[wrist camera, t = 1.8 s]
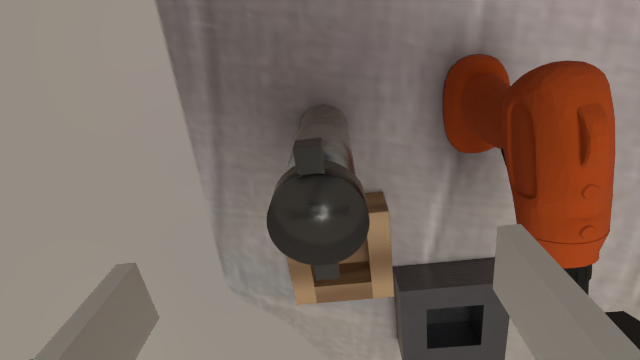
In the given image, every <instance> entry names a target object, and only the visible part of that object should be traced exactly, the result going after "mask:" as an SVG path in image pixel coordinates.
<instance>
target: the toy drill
mask: <svg viewBox="0 0 640 360" xmlns="http://www.w3.org/2000/svg"><path fill="white" fill-rule="evenodd" d="M443 115H444V124H445V130H446V133H447V136H448V139H449V141H450V143H451V144H452V146H454V147H455V149H457V150H458V151H460V152H464V153H479V152H483V151H487V150H489V149H492V148H494V147H497V148H501V152H502V155H503V158H504V161H505V164H506V167H507V171H508V176H509V181H510V185H511V190H512V195H513V201H514V207H515V214H516V220H517V224H521V225H522V226H523V227H524V228H525V229H526V230H527V231H528V232H529V233H530V234H531V235H532V236H533V237H534V238H535V240H536V241H537V242H538V243H539V244H540V245H541V246H542V247H543V248H544V249H545V250H546V251H547V252H548V253H549V254H550V255H551V257H552V258H553V259H554V260H555V261H556V262H557V263H558V264H559V265H560V266H561V267H562V268H563V269H564V270H565V271H566V272H567V274H568V275H569V276H570V277H571V278H572V279H573V280H574V281H575V282H576V283H577V284H578V285H579V286H580V287H581V288H582V289H583V291H584V292H585V293H586V294H587V295H588V289H589V280H590V279H591V276H592V264H593V263H595V262H596V261H598V259H599V251H600V249H601V247H602V245H603V243H604V241H605V239H606V237H607V236H608V234H609V231H610V219H611V206H612V198H613V179H614V164H615V117H614V108H613V103H612V97H611V91H610V85H609V83H608V80H607V78H606V76H605V74H604V73H603V72H602V71H601V70H599V69H598V68H596V67H595V66H593V65H591V64H588V63H586V62H579V61H560V62H552V63H549V64H546V65H542V66H540V67H538V68H535V69H533V70H531V71H529V72H528V73H526V74H524V75H523V76H522V77H520V78H519V79H518V80H517V81H516V82H515V83H514V84H513V85H512V86H510V83H509V78H508V74H507V72H506V70H505V68H504V66H503V65H502V64H501V63H500V62H499V61H498V59H496V58H494V57H492V56H488V55H480V54H478V55H471V56H468V57H465V58H463V59H461V60H459V61H458V62H457V63H456V64H455V65H454V66H453V67H452V68H451V70H450V72H449V73H448V76H447V79H446V82H445V88H444V97H443Z"/></svg>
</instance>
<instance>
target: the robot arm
mask: <svg viewBox="0 0 640 360" xmlns="http://www.w3.org/2000/svg"><path fill="white" fill-rule="evenodd" d="M493 290H494V292H495V293H496V295H497V296H498V298H499V300H500V301H501V303H502V305H503V306H504V308H505V310H506V311H507V313H508V315H509V316H510V318H511V319H512V321H513V323H514V324H515V326H516V328H517V329H518V331H519V333H520V334H521V336H522V338H523V339H524V341H525V342H526V344H527V346H528V347H529V349H530V351H531V352H532V354H533V356H534V357H535V359H536V360H640V321H639V320H637V319H636V318H634V317H632V316H631V315H629V314H627V313H626V312H624V311H619V312H606V313H604V312H603V311H602V310H601V309H600V308H599V306H598V305H597V304H596V303H595V302H594V301H593V300H592V299H591V298H590V297H589V296H588V295H587V294H586V293H585V292H584V291H583V289H582V288H581V287H580V286H579V285H578V284H577V283H576V282H575V281H574V280H573V279H572V278H571V277H570V276H569V275H568V274H567V272H566V271H565V270H564V269H563V268H562V267H561V266H560V265H559V264H558V263H557V262H556V261H555V260H554V259H553V258H552V257H551V255H550V254H549V253H548V252H547V251H546V250H545V249H544V248H543V247H542V246H541V245H540V244H539V243H538V242H537V241H536V240H535V238H534V237H533V236H532V235H531V234H530V233H529V232H528V231H527V230H526V229H525V228H524V227H523V226H522V225H521V224H515V225H505V226H498V229H497V241H496V254H495V266H494V279H493ZM158 319H159V316H158V313H157V311H156V309H155V306H154V304H153V302H152V299H151V297H150V295H149V293H148V290H147V288H146V286H145V283H144V281H143V279H142V276H141V274H140V271H139V269H138V267H137V265H136V263H127V264H117V265H115V267H114V268H113V269H112V270H111V271H110V272H109V273H108V275H107V276H106V277H105V278H104V279H103V280H102V281H101V283H100V284H99V285H98V286H97V287H96V288H95V289H94V291H93V292H92V293H91V294H90V295H89V296H88V298H87V299H86V300H85V301H84V302H83V303H82V304H81V306H80V307H79V308H78V309H77V310H76V311H75V312H74V313H73V315H72V316H71V317H70V318H69V319H68V320H67V322H66V323H65V324H64V325H63V326H62V327H61V329H59V331H58V332H57V333H56V334H55V335H54V337H52V339H51V340H50V341H49V342H48V343H47V344H46V345H45V347H44V348H43V349H42V350H41V351H40V352H39V353H38V355H37V356H36V357H35V358H34V359H32V360H135V359H136V358H137V356H138V354H139V352H140V351H141V349H142V347H143V345H144V344H145V342H146V340H147V338H148V337H149V335H150V333H151V331H152V330H153V328H154V326H155V324H156V323H157V321H158Z"/></svg>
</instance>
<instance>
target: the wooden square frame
mask: <svg viewBox="0 0 640 360" xmlns="http://www.w3.org/2000/svg"><path fill="white" fill-rule="evenodd" d="M365 198H366V203H367V208H368V213H369V219H370V225H369V231H368V235H367V237H366V239H365V241H364V243H363V244H362V246H361V247H360V248H359V249H358V251H356V252H355V253H354V254H353V255H351V256H350V257H349V258H347V259H345V260H343V261H340V262H339V267H340V278H339V279H328V280H317V281H316V277H315V272H314V266H313V265H308V264H304V263H300V262H298V261H295V260H293V259H291V258H289V257H288V256H287V260H288V265H289V270H290V274H291V279H292V283H293V288H294V293H295V297H296V302H297V305H301V304H313V303H325V302H336V301H348V300H359V299H371V298H383V297H394V287H393V272H392V256H391V241H390V225H389V211H388V208H387V204H386V201H385V198H384V195H383V192H378V193H369V194H365Z"/></svg>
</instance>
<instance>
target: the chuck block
mask: <svg viewBox="0 0 640 360" xmlns="http://www.w3.org/2000/svg"><path fill="white" fill-rule="evenodd" d="M494 266H495V258H486V259H475V260H464V261H453V262H442V263H432V264H421V265H410V266H399V267H393V274H394V289H395V305H396V321H397V337H398V343H399V348H400V352H401V357H402V360H505V351H506V342H507V333H508V325H509V315H508V313H507V311H506V310H505V308H504V306H503V305H502V303H501V301H500V300H499V298H498V296H497V295H496V293H495V292H494V290H493V279H494Z"/></svg>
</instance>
